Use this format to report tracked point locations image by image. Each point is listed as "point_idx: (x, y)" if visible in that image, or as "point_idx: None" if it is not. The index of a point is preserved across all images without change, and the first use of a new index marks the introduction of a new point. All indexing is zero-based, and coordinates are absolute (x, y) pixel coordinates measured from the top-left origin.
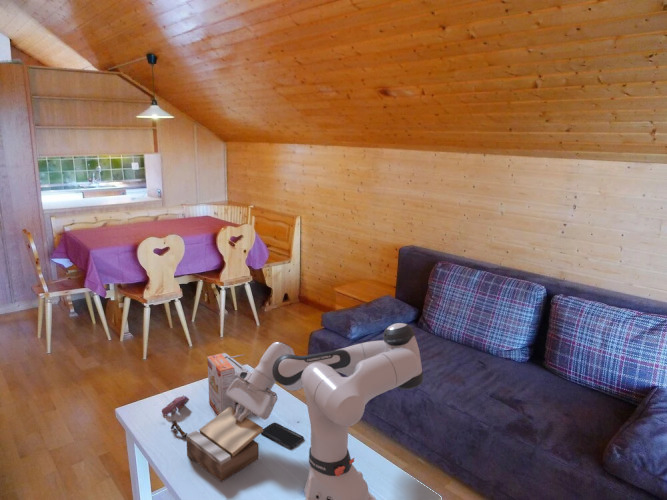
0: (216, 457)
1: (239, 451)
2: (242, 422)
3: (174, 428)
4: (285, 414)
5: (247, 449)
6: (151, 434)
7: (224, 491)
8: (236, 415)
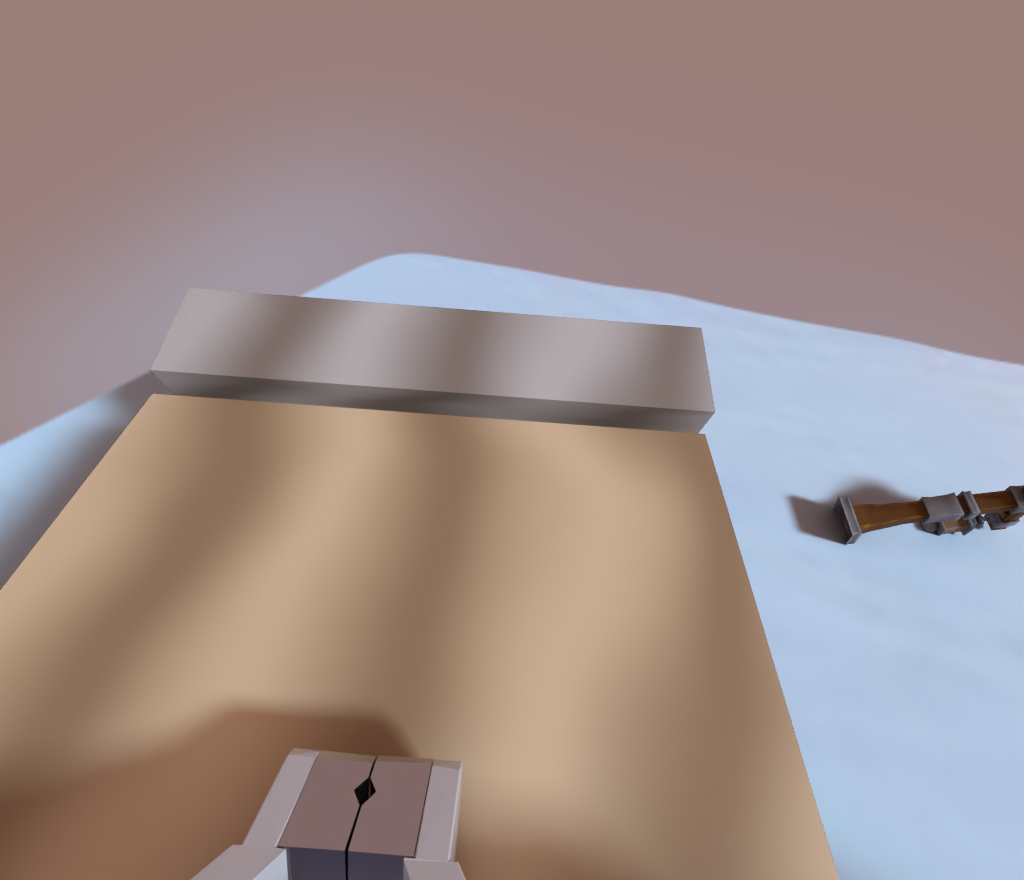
0: (255, 295)
1: None
2: None
3: (977, 520)
4: None
5: None
6: (984, 412)
7: None
8: (395, 800)
